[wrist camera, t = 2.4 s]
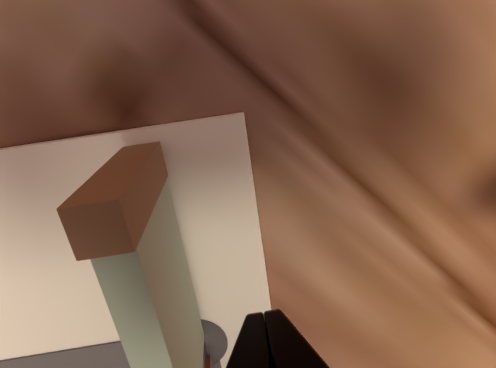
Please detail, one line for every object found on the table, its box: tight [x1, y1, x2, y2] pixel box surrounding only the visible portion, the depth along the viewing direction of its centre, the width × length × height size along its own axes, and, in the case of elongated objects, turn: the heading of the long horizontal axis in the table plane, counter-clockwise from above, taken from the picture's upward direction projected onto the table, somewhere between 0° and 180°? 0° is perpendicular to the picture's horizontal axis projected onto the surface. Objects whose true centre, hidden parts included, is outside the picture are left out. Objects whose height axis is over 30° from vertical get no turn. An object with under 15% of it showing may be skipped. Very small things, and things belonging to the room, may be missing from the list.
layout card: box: [0, 112, 271, 368], centre depth 17 cm, size 22×20×1 cm
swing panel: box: [56, 141, 204, 368], centre depth 12 cm, size 10×1×5 cm, turn 8°
